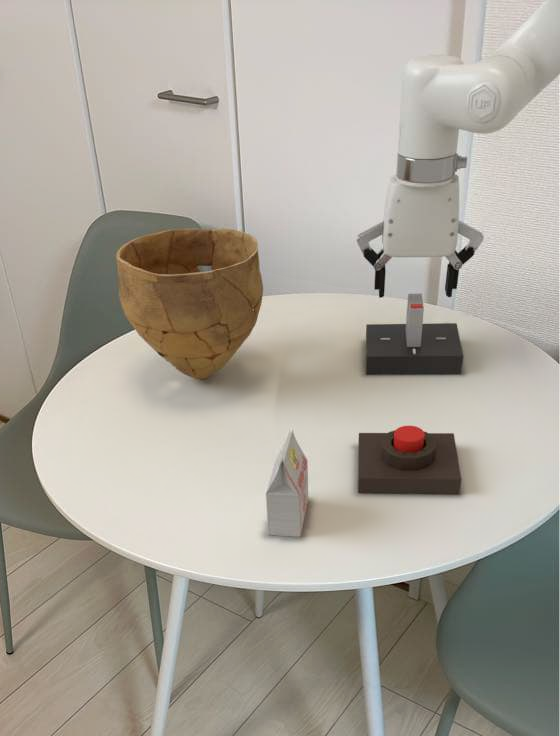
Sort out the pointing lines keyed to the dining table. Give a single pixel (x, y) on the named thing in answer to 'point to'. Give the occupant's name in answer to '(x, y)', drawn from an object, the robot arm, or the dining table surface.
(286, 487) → the milk carton
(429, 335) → the black flat block
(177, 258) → the bowl
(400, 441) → the power button
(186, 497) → the dining table surface
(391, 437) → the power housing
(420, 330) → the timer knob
